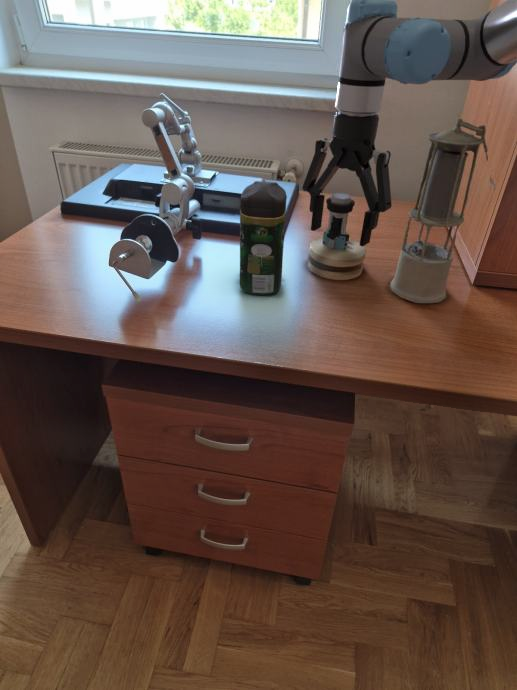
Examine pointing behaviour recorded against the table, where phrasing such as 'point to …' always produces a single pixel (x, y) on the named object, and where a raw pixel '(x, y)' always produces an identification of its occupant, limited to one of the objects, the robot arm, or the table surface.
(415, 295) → the lamp
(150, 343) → the table surface
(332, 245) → the push button
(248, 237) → the coffee jar
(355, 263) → the wooden yo-yo
